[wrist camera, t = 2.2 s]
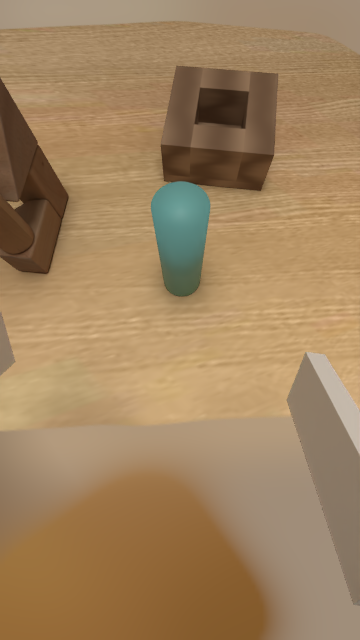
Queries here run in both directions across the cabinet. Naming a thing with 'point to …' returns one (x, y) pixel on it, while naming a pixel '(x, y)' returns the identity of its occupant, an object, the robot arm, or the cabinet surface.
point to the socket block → (220, 127)
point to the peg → (181, 234)
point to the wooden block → (26, 194)
